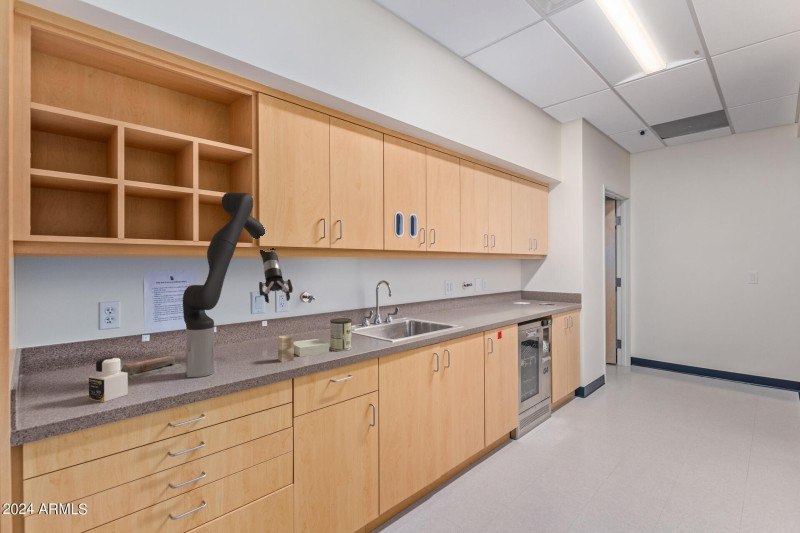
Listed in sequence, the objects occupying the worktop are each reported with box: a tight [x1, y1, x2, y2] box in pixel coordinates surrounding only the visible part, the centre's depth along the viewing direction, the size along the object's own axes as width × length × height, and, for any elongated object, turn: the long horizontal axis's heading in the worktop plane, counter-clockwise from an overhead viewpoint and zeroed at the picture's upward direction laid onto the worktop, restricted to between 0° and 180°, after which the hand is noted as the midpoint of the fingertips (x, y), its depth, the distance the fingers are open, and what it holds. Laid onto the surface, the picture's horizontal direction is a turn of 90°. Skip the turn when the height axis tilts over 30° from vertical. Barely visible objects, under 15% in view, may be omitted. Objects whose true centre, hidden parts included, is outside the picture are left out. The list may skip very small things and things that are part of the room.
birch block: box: [277, 334, 295, 363], centre depth 164 cm, size 5×5×10 cm
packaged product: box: [120, 355, 182, 380], centre depth 147 cm, size 18×5×10 cm
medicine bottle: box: [88, 356, 129, 403], centre depth 119 cm, size 7×7×12 cm
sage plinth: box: [294, 338, 330, 357], centre depth 179 cm, size 14×14×4 cm
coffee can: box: [329, 317, 353, 352], centre depth 186 cm, size 10×10×14 cm
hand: (278, 301), depth 170 cm, fingers open, 8 cm apart
